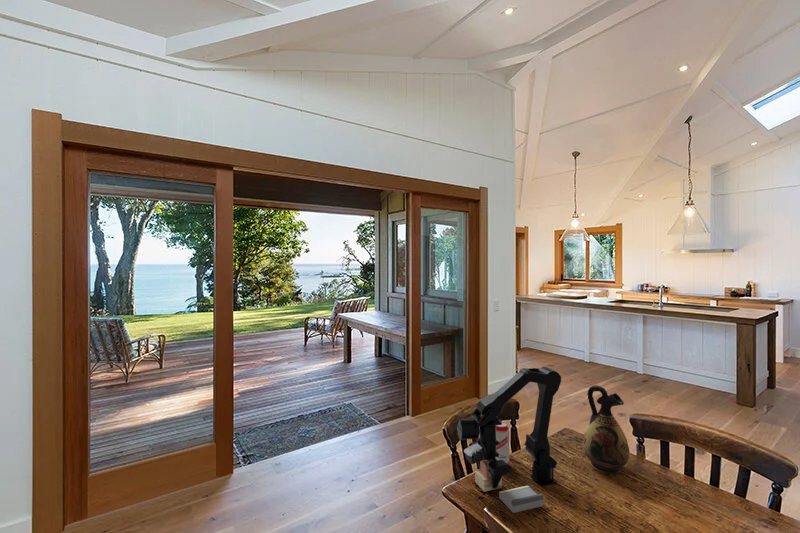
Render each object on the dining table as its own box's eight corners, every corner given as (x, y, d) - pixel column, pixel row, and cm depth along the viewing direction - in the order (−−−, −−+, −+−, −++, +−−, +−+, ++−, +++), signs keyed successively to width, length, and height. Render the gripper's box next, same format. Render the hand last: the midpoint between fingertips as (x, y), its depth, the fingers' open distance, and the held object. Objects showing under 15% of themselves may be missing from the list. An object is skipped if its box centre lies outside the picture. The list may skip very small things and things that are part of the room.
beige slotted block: (492, 478, 132) (492, 467, 132) (502, 488, 126) (501, 476, 126) (475, 482, 130) (475, 470, 130) (484, 491, 124) (483, 480, 124)
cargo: (490, 469, 131) (490, 458, 131) (496, 475, 127) (496, 463, 127) (480, 471, 129) (480, 460, 129) (486, 477, 126) (486, 466, 126)
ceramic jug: (636, 468, 137) (634, 388, 137) (620, 484, 127) (619, 398, 127) (589, 451, 150) (587, 378, 150) (571, 465, 140) (570, 386, 140)
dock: (527, 491, 124) (527, 481, 124) (543, 505, 116) (543, 494, 116) (499, 497, 121) (498, 487, 121) (513, 513, 113) (513, 501, 113)
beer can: (510, 470, 137) (509, 427, 137) (493, 469, 138) (492, 426, 138) (508, 462, 143) (508, 421, 143) (492, 460, 144) (491, 419, 144)
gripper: (455, 429, 135) (455, 471, 135) (480, 453, 117) (481, 502, 117) (482, 425, 138) (482, 466, 138) (510, 447, 120) (511, 495, 120)
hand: (488, 481), depth 128 cm, fingers open, 8 cm apart
